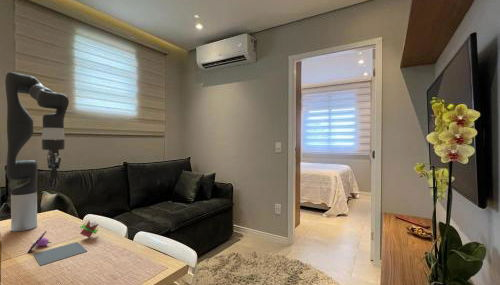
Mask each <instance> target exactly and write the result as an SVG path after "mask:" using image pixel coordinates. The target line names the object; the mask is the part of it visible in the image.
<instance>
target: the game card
mask: <svg viewBox="0 0 500 285" xmlns="http://www.w3.org/2000/svg"><path fill="white" fill-rule="evenodd" d="M46 233H47V230H45V231H44V232H43V233H42V234H41V235H40V236H38V237H37V239H36V241H33V242H32V243H31V247H29V249H28V251H27V253H28V254H29V253H30V252H31V251H32V250H33V249H34V247H35V246H36V245H37V246H40V247H44V246H47V245H48V244H52V242H51V241H49V238H47V237H44V236H45V235H46Z"/></svg>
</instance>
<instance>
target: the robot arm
mask: <svg viewBox="0 0 500 285" xmlns="http://www.w3.org/2000/svg"><path fill="white" fill-rule="evenodd" d="M4 85H5V93H6V94H5V95H6V106H7V108H6V110H7V114H6V115H7V117H6V134H7V135H6V136H7V154H6V155H7V157H6V168H5V170H6V178H7V180H8V181H18V180H19V181H20V180H27V181H26V182H24V183H22V184H20V185H17V186H15V187H13V188H11V189H10V216H11V217H10V230H11V232H23V231H29V230H32V229H35V228H36V227H38V187H37V186H38V184H37V183H38V162H37V160H34V159H27V160H17V157H18V155H19V153H20V151H21V150H22V148H23V147H24V146H25V145H26V144H27V143H28V142H29V141H30V140H31V138H32V136H33V135H34V120H33V118H32V116H31V115H30V113H29V112H28V111H27V110H26V108H25V107H24V106H23V104H22V103H21V101H20V98H19V94H24V95H30V97H31V98H32V99H33V100H35V101H36V104H37V105H38V106H39V107H41V108H43V109H49V110H51V109H53V110H55V112H54V113H47V114H43V115H42V131H41V149H42V150H44V151H48V153H47V154H46V162H47V167H48V169H49V178H50V179H51V180H57V179H58V170H59V169H60V165H61V161H62V158H61V154H60V151H61V150H62V151H63V150H65V146H66V145H65V144H66V142H65V141H66V140H65V122H64V121H65V115H66V112H67V109H68V107H69V101H70V100H69V97H68V96H67V95H66V94H65V93H59V92H54V91H52V90H51V89H50V88H48V87H46V86H44V85H43V84H42V83H41V81H39V79H37V78H36V77H34V76H33V75H30V74H29V75H28V74H24V73H18V72H14V71H9V72H7V74H6V75H5V84H4Z"/></svg>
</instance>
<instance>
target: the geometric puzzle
mask: <svg viewBox="0 0 500 285" xmlns="http://www.w3.org/2000/svg"><path fill="white" fill-rule="evenodd" d="M98 227H99V223H98V222H97V221H96V220H91V219H89V220H88V221H86V222H85V223H83V224H81V226H80V228H79V229H80V233H79V234H80V235H82V236H83V237H87V238H91V237H92V236H93V234H94V235H96V234H97V232H98V231H99V229H97V228H98Z"/></svg>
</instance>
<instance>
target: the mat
mask: <svg viewBox="0 0 500 285" xmlns="http://www.w3.org/2000/svg"><path fill="white" fill-rule="evenodd" d="M86 252H87V253H88V250H87V249H85V248H84V246H83V245H81V244H80V243H79V242H78V241H75V242H72V243H66V244H65V245H61V246H57V247H53V248H49V249H46V250H42V251H39V252H35V253H33V256H34V258H35V259H36V261H37V263H38V265H39V267H41V266H44V265H48V264H51V263H55V262H58V261H61V260H64V259H67V258H71V257H73V256H77V255H80V254H84V253H86Z"/></svg>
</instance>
